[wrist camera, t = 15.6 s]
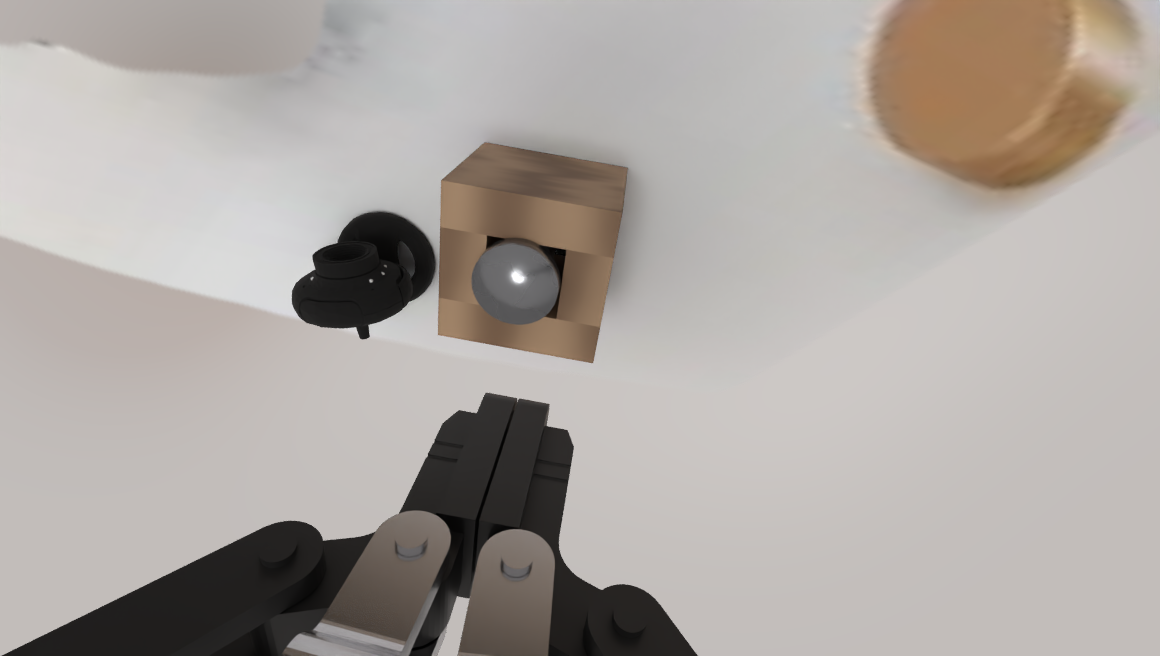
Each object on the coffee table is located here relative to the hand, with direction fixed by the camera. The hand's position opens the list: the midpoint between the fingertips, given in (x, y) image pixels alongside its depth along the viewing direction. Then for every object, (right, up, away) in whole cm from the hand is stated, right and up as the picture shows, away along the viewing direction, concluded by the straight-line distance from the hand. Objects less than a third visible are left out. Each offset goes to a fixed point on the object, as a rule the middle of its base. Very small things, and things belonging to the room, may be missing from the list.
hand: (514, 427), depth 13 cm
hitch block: (-1, +10, +28) cm, 30 cm away
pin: (-1, +10, +28) cm, 29 cm away
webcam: (-13, +8, +31) cm, 35 cm away
